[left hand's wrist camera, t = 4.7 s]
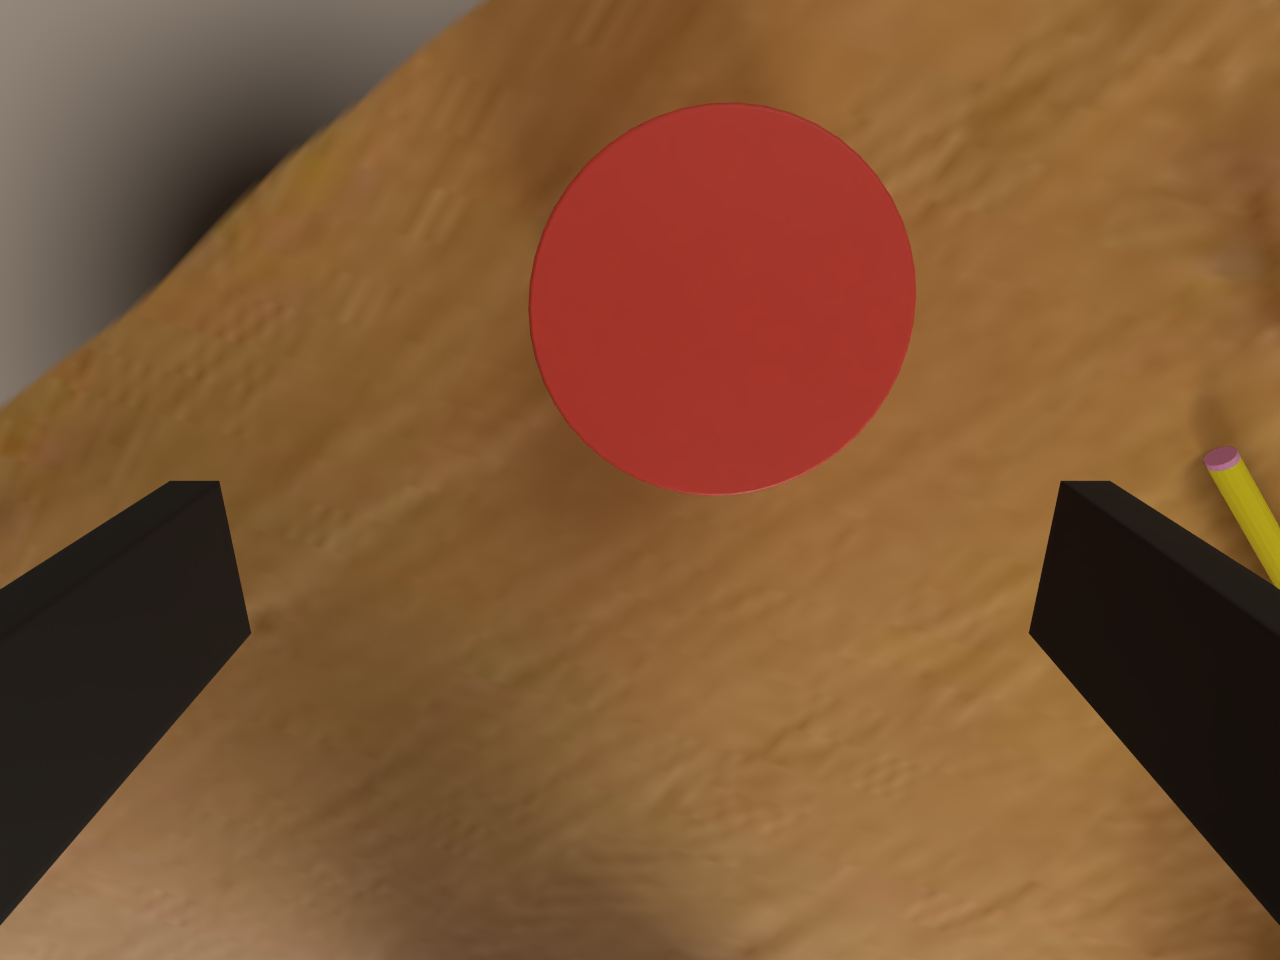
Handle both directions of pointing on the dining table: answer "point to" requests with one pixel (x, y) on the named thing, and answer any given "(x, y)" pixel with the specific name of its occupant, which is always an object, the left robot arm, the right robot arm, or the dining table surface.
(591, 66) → the dining table surface
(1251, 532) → the pencil
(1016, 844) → the dining table surface
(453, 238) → the dining table surface
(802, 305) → the can
